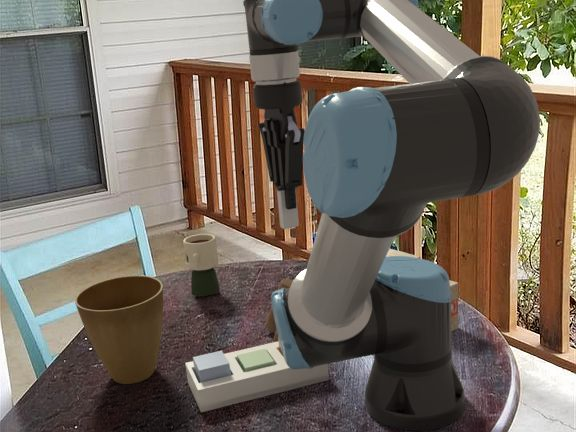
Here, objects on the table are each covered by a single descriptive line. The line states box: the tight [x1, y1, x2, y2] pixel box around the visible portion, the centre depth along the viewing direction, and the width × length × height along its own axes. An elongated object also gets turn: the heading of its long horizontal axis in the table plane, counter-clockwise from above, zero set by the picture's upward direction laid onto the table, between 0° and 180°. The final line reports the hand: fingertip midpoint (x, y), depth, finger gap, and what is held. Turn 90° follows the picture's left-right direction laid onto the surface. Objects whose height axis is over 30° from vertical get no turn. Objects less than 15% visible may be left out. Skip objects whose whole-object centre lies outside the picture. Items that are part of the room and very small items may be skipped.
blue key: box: [192, 350, 231, 383], centre depth 122 cm, size 5×5×4 cm
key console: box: [185, 342, 330, 413], centre depth 124 cm, size 10×22×4 cm, turn 109°
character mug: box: [182, 233, 221, 297], centre depth 163 cm, size 11×7×13 cm, turn 174°
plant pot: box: [74, 274, 164, 385], centre depth 129 cm, size 15×15×16 cm
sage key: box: [237, 349, 274, 372], centre depth 124 cm, size 5×5×4 cm
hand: (289, 226), depth 121 cm, fingers closed
